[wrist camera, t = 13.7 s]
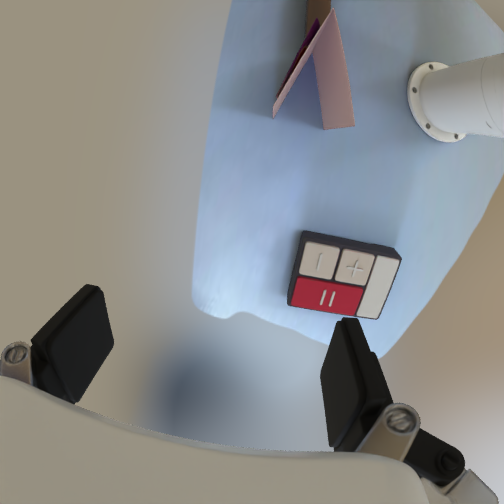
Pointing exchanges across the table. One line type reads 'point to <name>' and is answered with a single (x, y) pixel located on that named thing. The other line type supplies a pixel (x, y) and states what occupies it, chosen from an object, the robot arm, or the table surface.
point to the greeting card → (324, 73)
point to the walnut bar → (316, 12)
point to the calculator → (342, 276)
